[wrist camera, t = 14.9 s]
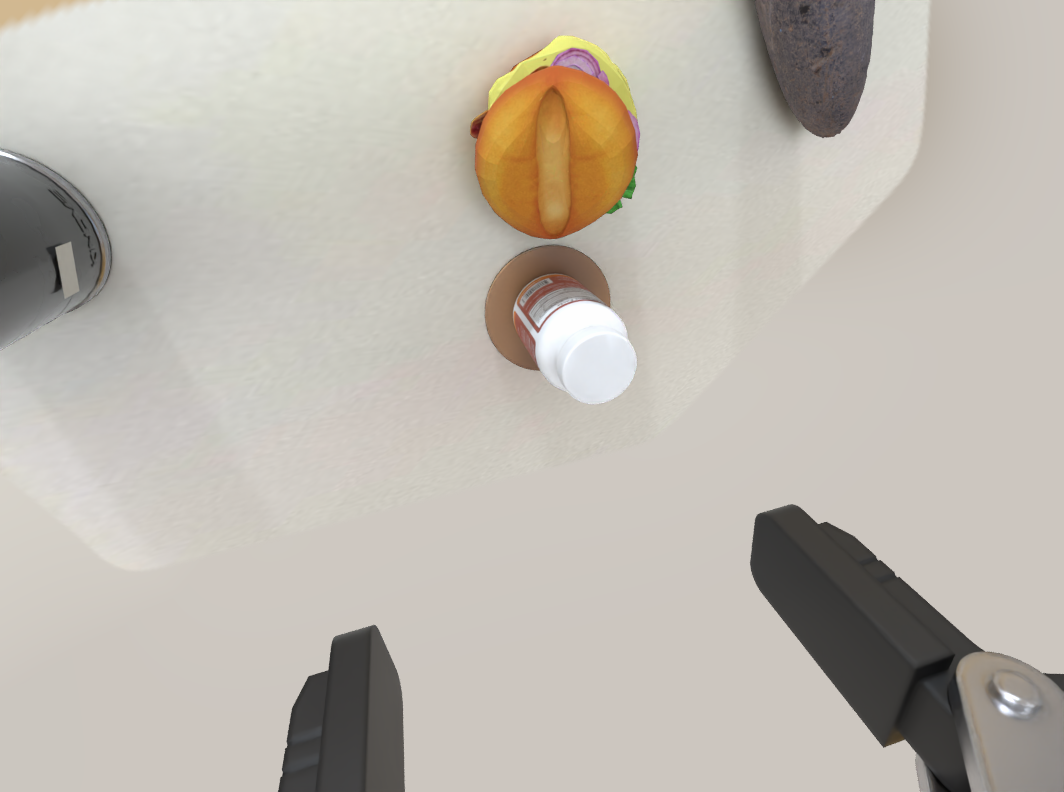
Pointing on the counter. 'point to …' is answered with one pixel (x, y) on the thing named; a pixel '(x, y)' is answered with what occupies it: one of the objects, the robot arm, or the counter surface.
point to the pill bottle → (574, 338)
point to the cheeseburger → (557, 140)
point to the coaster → (524, 272)
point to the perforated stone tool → (819, 57)
